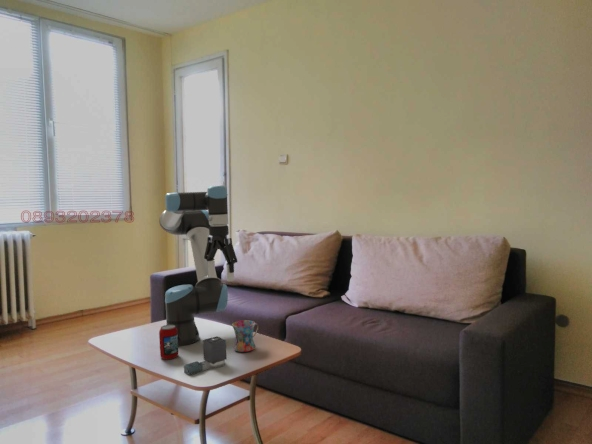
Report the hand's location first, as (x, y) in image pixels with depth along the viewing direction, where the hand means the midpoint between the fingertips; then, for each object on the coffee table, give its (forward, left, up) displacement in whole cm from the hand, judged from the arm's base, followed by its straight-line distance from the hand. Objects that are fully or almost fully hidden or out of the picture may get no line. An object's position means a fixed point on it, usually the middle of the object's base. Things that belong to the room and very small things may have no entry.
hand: (221, 278), depth 177 cm
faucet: (+11, -15, -29) cm, 34 cm away
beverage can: (-9, -19, -29) cm, 36 cm away
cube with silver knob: (+11, -11, -27) cm, 31 cm away
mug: (+6, +7, -29) cm, 30 cm away
